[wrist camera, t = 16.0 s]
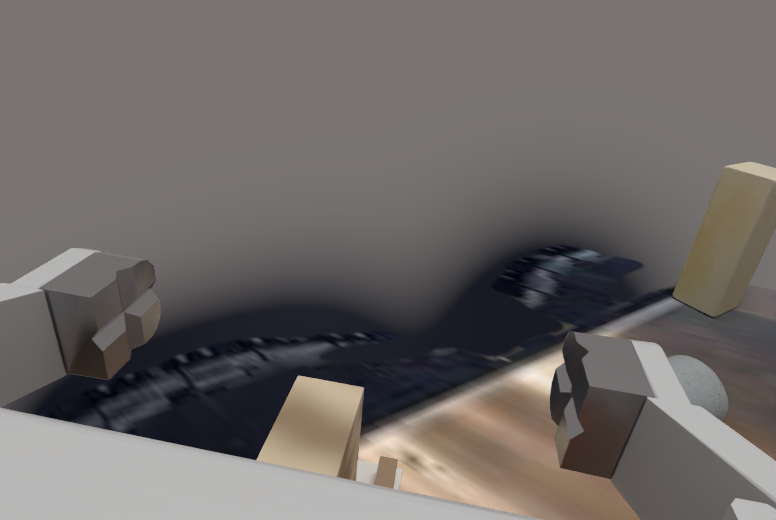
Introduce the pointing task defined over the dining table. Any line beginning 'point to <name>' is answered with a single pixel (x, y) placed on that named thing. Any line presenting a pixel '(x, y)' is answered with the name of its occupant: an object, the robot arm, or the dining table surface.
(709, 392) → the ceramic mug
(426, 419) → the dining table surface
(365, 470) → the track
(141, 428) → the dining table surface
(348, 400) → the wooden block
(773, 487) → the robot arm
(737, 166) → the toy refrigerator
